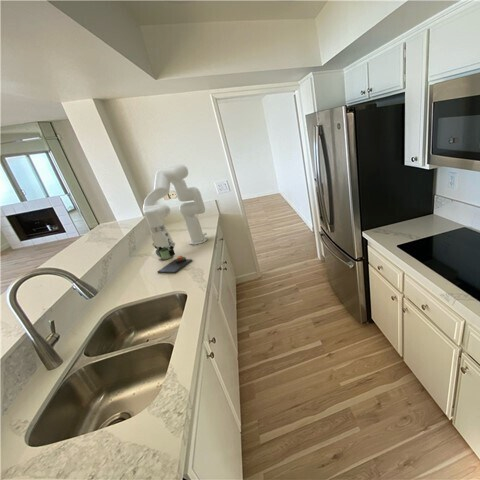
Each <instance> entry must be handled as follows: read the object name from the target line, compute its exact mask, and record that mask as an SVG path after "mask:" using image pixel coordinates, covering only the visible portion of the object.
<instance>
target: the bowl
mask: <svg viewBox="0 0 480 480" xmlns="http://www.w3.org/2000/svg"><path fill="white" fill-rule="evenodd" d="M159 252H160V254H161V257H162V258H163V259H166V260H168V259H167V258H169V259H171V258H173V256H170V253H169V249H168V248H167V247H166V248H163V249H161V250H160V251H159ZM161 257H160V258H161ZM170 257H171V258H170Z"/></svg>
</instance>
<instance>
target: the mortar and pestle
mask: <svg viewBox="0 0 480 480" xmlns="http://www.w3.org/2000/svg"><path fill="white" fill-rule="evenodd" d="M168 245H169V244H168ZM169 247H170V246H169ZM163 248H166V247H162V249H163ZM155 254H156V256H157V257H159V258H161V260H162V261H167V260H170V259H171V258H172V257H170V258H167V259H163V258H162V257H161V256H160V254H159V251H157V249H155Z"/></svg>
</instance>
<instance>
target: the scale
mask: <svg viewBox="0 0 480 480" xmlns="http://www.w3.org/2000/svg"><path fill="white" fill-rule="evenodd" d="M182 258H183V259H181V260H178V259H177V258H175V259H174V260H172V261H170V262H169V263H167V264H166V265H165V266H163V267H161V268H160V269H159V270H158V271H157V274H177V273H179V272H180V271H182V269H184V268H185V267H186V266H188V265H189V264H191V263H192V262H193V259H192V258H191V259H189V258H186V257H185V256H182Z"/></svg>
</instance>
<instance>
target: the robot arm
mask: <svg viewBox="0 0 480 480" xmlns="http://www.w3.org/2000/svg"><path fill="white" fill-rule="evenodd" d="M188 175H189V169H188V167H187V166H186V165H185V164H177V165H176V164H175V165H168V166H167V165H166V166H162V167H161V168H160V169H158V170H157V171H156V172H155V177H154V185H153V190H151V191H150V192H149V193H148V194H147V196H146V197H145V199H144V200H143V206H142V213H143V215H144V218H145V219H146V222H147V225H148V227H149V230H150V235H151V239H152V244H151V245H152V246H153V247H154V248H155V250H157V251H160V250H161V249H162V247H167V248H168V249H169V253H170V256H172V257H173V256H175V255H176V253H175V250H174V249H175V246H176V243H175V242H174V241H173V238H172V236H171V235H170V232H169V231H168V229H166V228H167V227H166V226H165V223H164V221H163V218H165V217H168V216H169V215H170V214H171V208H170V206H169V205H167V204H162V203H161V204H156V203H157V202H158V201H159V200H161V199H163V198H164V197H167V196H168V195H169V194H170V190H171V189H170V188H171V185H172V187H173V190H174V192H175V195H176V198H177V199H178V201H179V202H183V203H181V204H180V205H179V207H178V208H179V209H178V210H179V213H180V215H181V216H182V218H183V221H184V223H185V226H186V229H187V233H188V235H189V238H190V241H189V245H191V246H195V245H200V244H203V243H205V242H206V241H207V239H208V238H207V237H206V236H207V234H208V233H207V232H204V233H203V230H202V225H201V224H200V219H199V218H198V217H197V216H196V215H203V214H204V213H205V211H206V207H205V203H204V199H203V197H202V194H201V191H200V189H199V188H197V187H196V186H191V187H188V186H187V183H186V180H185V179H186V178H187V177H188ZM168 244H169V245H168ZM169 246H170V247H169ZM159 254H160V252H159ZM160 256H161V254H160Z"/></svg>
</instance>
